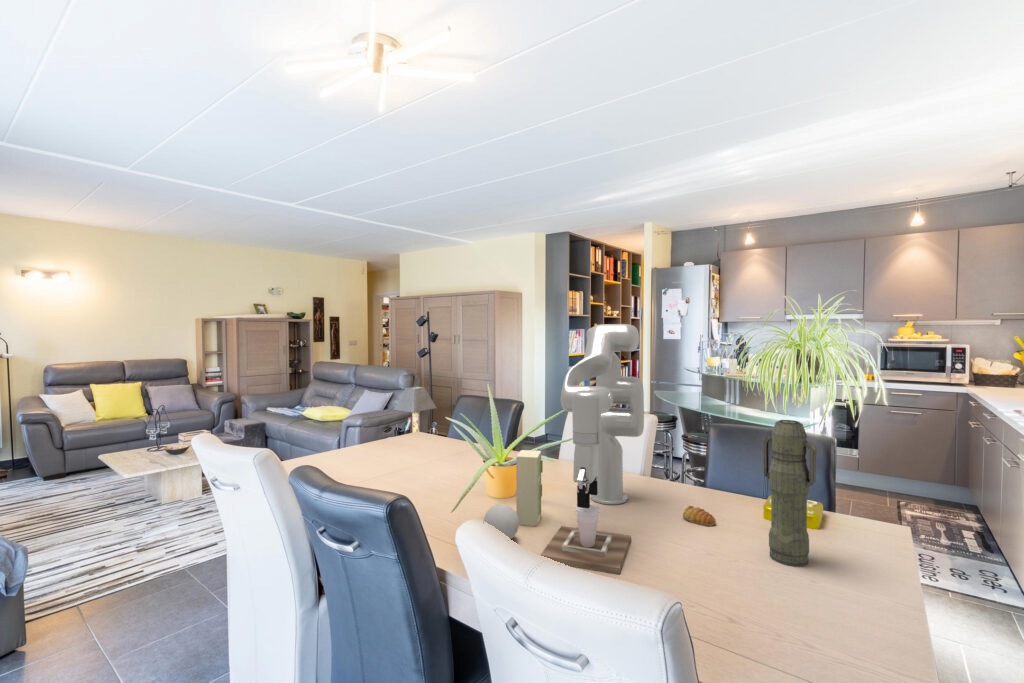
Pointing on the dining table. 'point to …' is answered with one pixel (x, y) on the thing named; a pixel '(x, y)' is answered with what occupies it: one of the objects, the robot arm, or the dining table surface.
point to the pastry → (698, 516)
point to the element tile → (812, 513)
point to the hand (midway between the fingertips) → (587, 500)
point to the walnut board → (589, 550)
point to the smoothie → (587, 524)
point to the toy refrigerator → (529, 487)
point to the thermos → (789, 492)
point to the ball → (503, 519)
